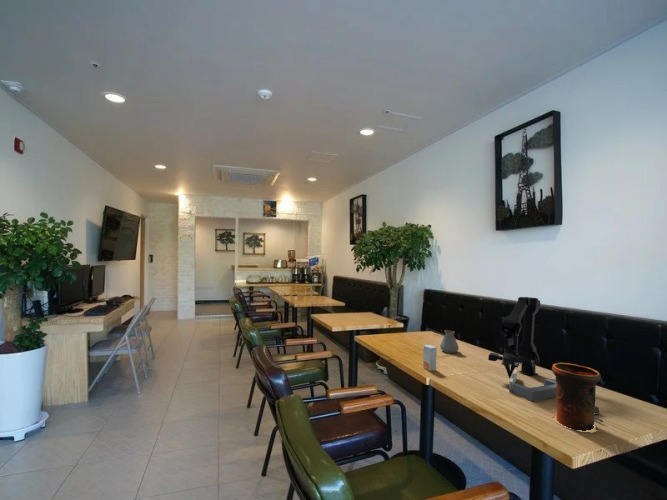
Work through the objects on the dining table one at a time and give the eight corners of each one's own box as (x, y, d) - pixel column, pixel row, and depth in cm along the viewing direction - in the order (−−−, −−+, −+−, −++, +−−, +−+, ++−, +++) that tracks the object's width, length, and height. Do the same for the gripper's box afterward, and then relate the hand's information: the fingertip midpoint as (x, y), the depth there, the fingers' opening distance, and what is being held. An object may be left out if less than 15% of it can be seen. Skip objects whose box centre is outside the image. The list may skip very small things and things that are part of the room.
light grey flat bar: (511, 392, 150) (512, 382, 150) (508, 391, 150) (509, 381, 151) (517, 378, 169) (517, 369, 169) (514, 377, 170) (514, 368, 170)
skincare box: (422, 367, 182) (423, 345, 183) (429, 366, 184) (429, 344, 184) (429, 371, 177) (430, 348, 177) (436, 370, 178) (436, 347, 178)
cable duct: (548, 387, 158) (548, 378, 158) (568, 394, 150) (568, 385, 150) (513, 393, 150) (513, 384, 150) (532, 401, 141) (532, 391, 141)
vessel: (563, 411, 133) (565, 360, 133) (606, 428, 120) (608, 372, 120) (541, 418, 126) (543, 364, 126) (585, 438, 113) (587, 378, 113)
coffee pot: (453, 348, 223) (453, 326, 223) (462, 353, 211) (462, 329, 212) (422, 349, 220) (422, 326, 220) (429, 354, 208) (430, 329, 209)
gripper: (486, 345, 162) (485, 378, 162) (532, 352, 151) (530, 388, 151) (491, 340, 171) (489, 372, 171) (533, 348, 161) (532, 381, 160)
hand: (509, 378), depth 163 cm, fingers closed
